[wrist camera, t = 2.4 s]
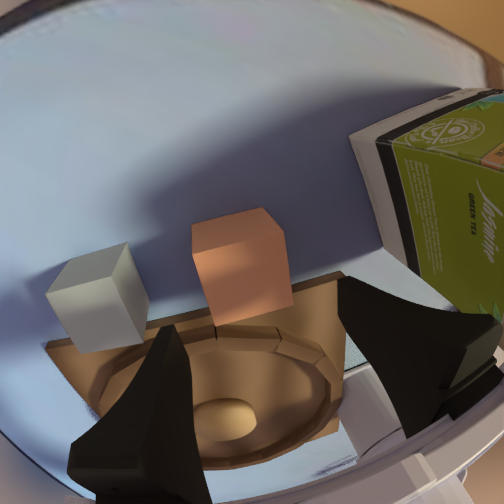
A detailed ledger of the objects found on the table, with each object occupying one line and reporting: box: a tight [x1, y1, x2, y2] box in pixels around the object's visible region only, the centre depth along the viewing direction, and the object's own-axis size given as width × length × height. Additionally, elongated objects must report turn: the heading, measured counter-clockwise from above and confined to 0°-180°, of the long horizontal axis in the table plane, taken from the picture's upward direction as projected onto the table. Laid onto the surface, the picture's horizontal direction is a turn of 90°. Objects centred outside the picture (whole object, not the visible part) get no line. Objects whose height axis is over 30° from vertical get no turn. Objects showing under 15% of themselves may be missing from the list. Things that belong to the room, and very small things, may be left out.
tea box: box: [349, 88, 504, 351], centre depth 13 cm, size 15×10×15 cm, turn 117°
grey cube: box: [45, 242, 150, 354], centre depth 16 cm, size 5×5×5 cm
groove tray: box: [45, 271, 346, 471], centre depth 25 cm, size 25×25×2 cm
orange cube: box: [191, 207, 294, 326], centre depth 17 cm, size 5×5×5 cm
